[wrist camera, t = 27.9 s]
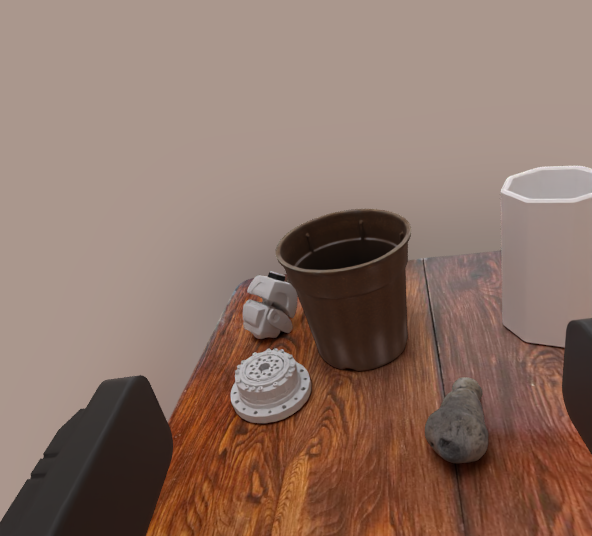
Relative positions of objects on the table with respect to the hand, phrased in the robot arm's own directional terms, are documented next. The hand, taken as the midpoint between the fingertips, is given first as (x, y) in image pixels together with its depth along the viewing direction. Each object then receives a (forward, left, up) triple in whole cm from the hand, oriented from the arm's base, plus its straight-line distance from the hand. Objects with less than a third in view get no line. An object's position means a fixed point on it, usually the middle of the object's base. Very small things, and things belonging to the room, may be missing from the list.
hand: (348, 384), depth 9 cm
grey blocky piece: (+34, +41, -34) cm, 63 cm away
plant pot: (+36, +27, -34) cm, 56 cm away
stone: (+27, +10, -34) cm, 44 cm away
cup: (+49, +7, -34) cm, 60 cm away
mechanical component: (+23, +32, -34) cm, 52 cm away
